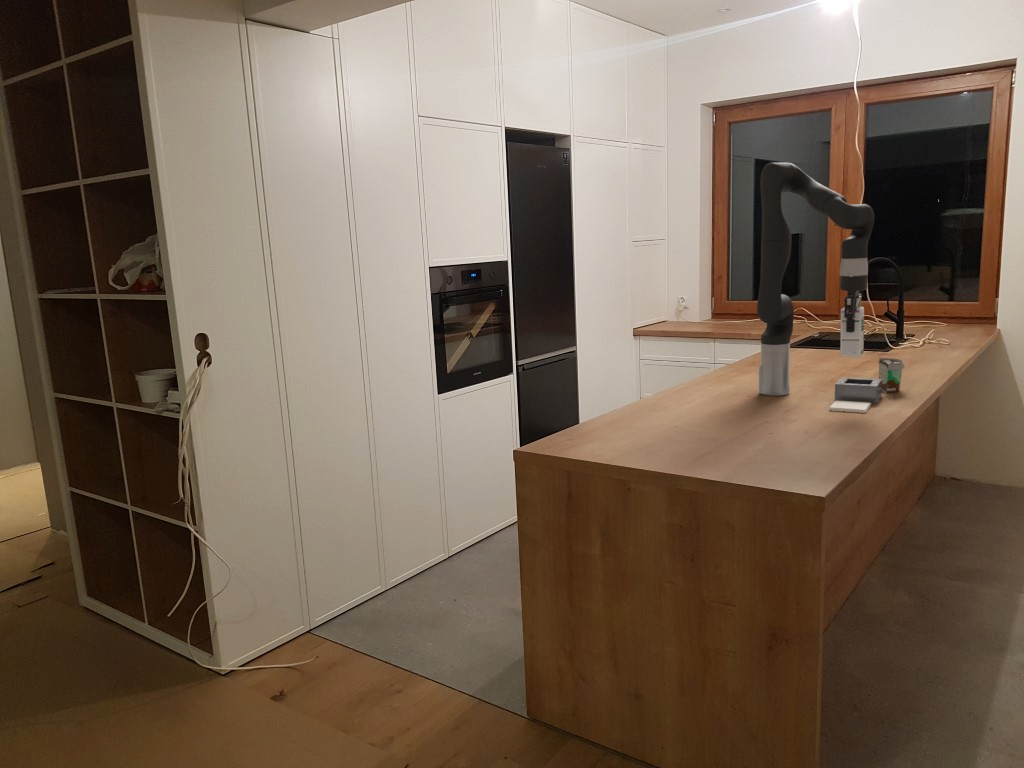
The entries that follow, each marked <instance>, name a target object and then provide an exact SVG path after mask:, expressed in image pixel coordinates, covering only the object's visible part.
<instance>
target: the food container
mask: <svg viewBox="0 0 1024 768" xmlns="http://www.w3.org/2000/svg"><path fill="white" fill-rule="evenodd" d="M878 359H879V360H878V379H882V392H884V393H885V392H886V394H897V393H899V392H900V390H901V389H900V387H901V380H902V373H903V369H905V365H904V361H903V359H898V358H892V357H891V358H890V357H889V358H888V357H879V358H878Z"/></svg>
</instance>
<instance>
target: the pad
mask: <svg viewBox="0 0 1024 768" xmlns="http://www.w3.org/2000/svg"><path fill="white" fill-rule="evenodd" d="M871 406H872V403H868V402H852V401H835V400H834V402H833V403H832V404H831V405H830V406H829V411H830V410H831V411H833V412H843V411H845V413H846V412H847V413H857V412H858V413H862V414H866V413H867V411H868V410H869V409H870V408H871Z"/></svg>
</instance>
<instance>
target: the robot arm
mask: <svg viewBox="0 0 1024 768" xmlns="http://www.w3.org/2000/svg"><path fill="white" fill-rule="evenodd" d="M760 173H761V174H760V179H759V180H760V185H759V186H760V198H761V199H760V200H761V238H760V239H761V243H760V244H761V245H760V247H761V248H760V258H761V259H760V281H759V289H758V297H757V304H756V312H757V316H758V317H759V320H760V321H761V322H762V323H763V324H766V328H765V330H764V332H763V333H762V334H761V335H760V365H759V366H758V394H760V395H765V396H775V397H776V396H787V395H789V394H790V389H791V388H790V387H791V385H790V383H791V382H790V381H791V379H790V378H791V377H790V376H791V373H790V372H791V371H790V367H791V366H790V365H791V337H792V334H793V331H794V316H795V315H794V314H795V309H794V304H793V303H794V302H793V301H792V299H791V298H790V297H789V296H788V295H786V294H784V293H782V285H783V284H782V282H783V278H784V275H785V272H786V269H787V267H788V264H789V261H790V258H791V254H792V253H791V252H792V232H791V229H790V226H789V223H788V221H787V219H786V216H785V215H784V212H783V208H782V193H792V194H797V195H799V196H801V197H803V198H804V199H805V200H806V202H807V204H808V205H809V206H810V207H811V208H813V210H815V211H817V212H818V213H821V214H822V215H825V216H826V217H828V218H829V219H830V220H831V221H832V222H833V224H835V225H836V226H838V227H839V228H841V229H844V230H850V231H851V232H850V234H849V235H850V236H849V237H846V238H845V239H843V240H842V243H841V254H840V255H841V256H840V257H841V258H840V264H839V265H840V266H839V290H840V291H845V292H847V293H846V296H845V297H844V300H843V301H844V307H843V308H844V309H845V315H844V317H845V318H846V319H847V320H846V332H854V330H855V320H853V319H855V313H856V312H857V308H858V307H862V306H861V305H862V294H861V293H860V292H861V291H866V290H867V289H868V278H869V275H868V273H869V263H868V262H869V261H868V245H869V241H870V238H871V234H872V231H873V228H874V224H875V213H874V209H873V208H872V207H871V206H870V205H869V204H867V203H861V204H859V203H858V204H850V203H848V201H847V198H846V197H845V196H843V195H842V194H840V193H838V192H837V191H834V190H832V189H831V188H829V187H827V186H824V185H823V184H821V183H819V182H817V181H816V180H815V179H814V178H812V177H811V176H809V175H808V174H807V173H806V172H805V171H803V170H802V169H801V168H800V167H798V166H797V165H795V164H793V163H792V162H769V163H767V164H765V165H764V167H763V168H762V170H761V172H760ZM848 312H852V314H848Z"/></svg>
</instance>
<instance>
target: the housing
mask: <svg viewBox="0 0 1024 768" xmlns="http://www.w3.org/2000/svg"><path fill="white" fill-rule="evenodd" d="M882 393H883V390H882V379H879V378H866V377H864V378H863V377H847V376H846V377H844V376H841V378H840V379H838V381H837V382H835V384H834V402H835V401H852V402H868V403H871V404H874V405H875V404H877V403H878V402H879V400H880V399H881V397H882V396H883V395H882Z"/></svg>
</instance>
